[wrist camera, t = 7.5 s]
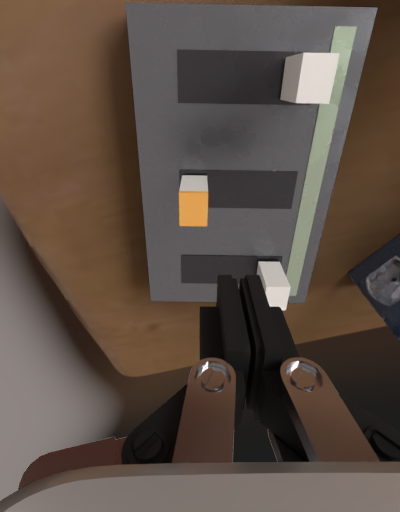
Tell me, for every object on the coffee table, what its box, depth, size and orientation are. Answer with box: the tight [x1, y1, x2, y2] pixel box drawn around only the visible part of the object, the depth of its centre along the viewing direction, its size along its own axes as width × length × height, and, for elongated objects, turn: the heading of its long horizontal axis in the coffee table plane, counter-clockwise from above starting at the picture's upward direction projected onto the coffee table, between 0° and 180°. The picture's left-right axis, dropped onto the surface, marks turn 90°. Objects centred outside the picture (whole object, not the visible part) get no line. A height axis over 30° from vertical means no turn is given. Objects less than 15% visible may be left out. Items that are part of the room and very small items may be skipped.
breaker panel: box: [125, 2, 378, 303], centre depth 26 cm, size 16×24×3 cm, turn 179°
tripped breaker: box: [179, 175, 208, 226], centre depth 23 cm, size 2×2×4 cm
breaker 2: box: [280, 53, 340, 104], centre depth 19 cm, size 2×2×4 cm
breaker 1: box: [257, 261, 291, 310], centre depth 27 cm, size 2×2×4 cm
